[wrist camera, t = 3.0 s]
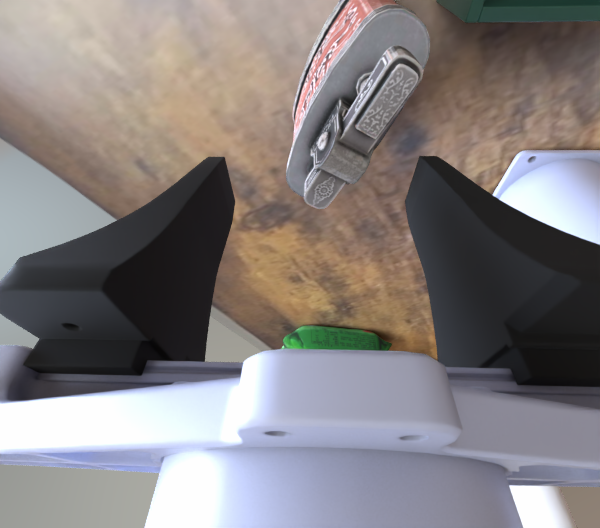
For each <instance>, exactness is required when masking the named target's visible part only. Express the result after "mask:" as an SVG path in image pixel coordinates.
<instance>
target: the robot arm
mask: <svg viewBox="0 0 600 528" xmlns="http://www.w3.org/2000/svg"><path fill="white" fill-rule="evenodd" d="M532 156H533V157H532ZM530 157H532V158H531V159H529V158H530ZM528 159H529V160H528ZM405 205H406V212H407V218H408V224H409V227H410V230H411V233H412V236H413V240H414V243H415V246H416V249H417V252H418V255H419V258H420V261H421V264H422V267H423V270H424V274H425V278H426V282H427V288H428V293H429V298H430V304H431V310H432V316H433V322H434V330H435V338H436V345H437V355H438V361H436V360H435V359H433V358H431V357H430V356H428V355H426V354H420V353H413V352H406V351H372V350H325V349H278V350H267V351H262V352H260V353H258V354H256V355H254V356H251V357H249V358H248V359H246V360H245V361H244V363H239V362H205V352H206V342H207V334H208V326H209V318H210V312H211V305H212V298H213V292H214V287H215V281H216V276H217V272H218V268H219V264H220V261H221V258H222V254H223V251H224V248H225V245H226V241H227V238H228V235H229V231H230V228H231V224H232V220H233V213H234V206H235V199H234V195H233V190H232V186H231V182H230V178H229V174H228V169H227V165H226V161H225V157H208V158H206V159H205V160H203V161H202V162H201V163H200V164H198V165H197V166H196V167H195V168H194V169H192V170H191V171H190V172H189V173H188V174H186V175H185V176H184V177H183V178H181V179H180V180H179V181H178V182H177V183H175V184H174V185H173V186H171V187H170V188H169V189H167V190H166V191H165V192H163V193H162V194H161V195H159V196H158V197H157V198H155V199H154V200H152V201H151V202H149V203H148V204H146V205H144V206H143V207H141V208H139V209H138V210H136V211H134V212H133V213H131V214H129V215H127V216H125V217H123V218H121V219H119V220H117V221H115V222H113V223H111V224H109V225H107V226H105V227H103V228H101V229H99V230H97V231H94V232H92V233H89V234H87V235H85V236H82V237H80V238H77V239H74V240H72V241H69V242H66V243H64V244H61V245H58V246H55V247H52V248H49V249H45V250H42V251H39V252H36V253H33V254H30V255H27V256H23V257H20V258H19V259H18V260H17V262H16V263H15V264H14V265H13V266H12V268H11V269H10V270H9V271H8V272H7V274H6V275H5V276H4V277H3V279H2V280H1V281H0V314H2V315H3V316H4V317H6V318H7V319H9V320H11V321H12V322H14V323H15V324H17V325H19V326H20V327H22V328H23V329H25V330H27V331H28V332H30V333H31V334H33V335H35V336H36V337H38V338H40V339H39V341H38V342H37V344H36V345H35V347H34V349H32V348H29V347H25V346H18V345H0V464H6V465H32V466H51V467H69V468H87V469H103V470H120V471H136V472H152V473H160V474H159V478H158V481H157V485H156V489H155V492H154V496H153V499H152V503H151V507H150V511H149V514H148V518H147V521H146V525H145V528H523V525H522V522H521V519H520V516H519V513H518V510H517V507H516V505H515V502H514V499H513V496H512V493H511V490H510V487H509V486H576V487H600V150H524V151H521V152H520V153H518V154H517V155H516V156H515V158H514V160H513V161H512V163H511V165H510V166H509V168H508V170H507V171H506V173H505V175H504V176H503V178H502V180H501V181H500V183H499V185H498V186H497V188H496V190H495V191H494V193H493V195H492V194H490V193H489V192H487V191H486V190H484V189H483V188H481V187H480V186H478V185H477V184H475V183H474V182H473V181H471V180H470V179H468V178H467V177H466V176H464V175H463V174H462V173H460V172H459V171H458V170H456V169H455V168H454V167H452V166H451V165H449V164H448V163H447V162H445V161H444V160H442V159H441V158H439V157H437V156H419V160H418V163H417V166H416V169H415V172H414V175H413V178H412V182H411V185H410V188H409V191H408V194H407V197H406V200H405Z"/></svg>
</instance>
